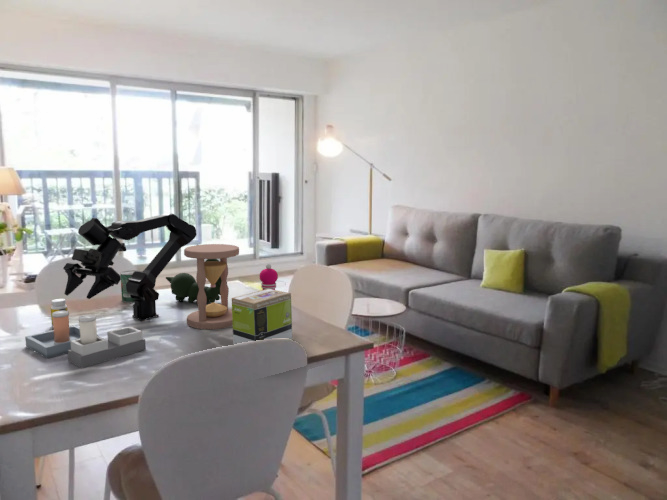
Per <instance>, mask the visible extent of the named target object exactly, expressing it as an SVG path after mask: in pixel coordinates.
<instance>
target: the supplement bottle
mask: <svg viewBox="0 0 667 500" xmlns="http://www.w3.org/2000/svg"><path fill="white" fill-rule="evenodd" d="M66 303H67V301H66V299H65V298H56V299H52V300H51V307H50V316H51V318H50V319H51V326H52V327H53V317H52V313H53V312H56V311H69V310H68V306H67V304H66Z"/></svg>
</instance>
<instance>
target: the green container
mask: <svg viewBox="0 0 667 500" xmlns="http://www.w3.org/2000/svg"><path fill="white" fill-rule="evenodd" d="M135 271H139V272H142V271H143V270H125V271H121V272H120V274H119V275H120V277H121V280H120V289H121V302H123V303H125V304H127V303H128V304H129V303H130V304H131V303H132V304H133V303H134V300H136V299H131V297H130V294H128V292H127V290H126V284H127V282H128V281H129V280H127V279H129V278H130V277H131V276H132V274H133V273H134V272H135Z"/></svg>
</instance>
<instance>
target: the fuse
mask: <svg viewBox="0 0 667 500" xmlns="http://www.w3.org/2000/svg"><path fill="white" fill-rule="evenodd" d="M77 319H78V327H79V328H80V342H81V344H83V345H86V344H90V343H94V342H97V335H98V334H97V333H98V331H97V315H96V314H83V315H80V316H78V318H77Z"/></svg>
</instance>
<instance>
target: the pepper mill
mask: <svg viewBox="0 0 667 500" xmlns="http://www.w3.org/2000/svg"><path fill="white" fill-rule="evenodd" d="M278 279H279V276H278V272H277V270H275V269H274V268H272V265H271V264H270V263H267V264H266V265H265V268H264V269H262V270H261V271H260V273H259V281H260V282H261V283H260V284H261V286H260V287H261V290H265V289H272V290H276V288H277V283H276V282H277V281H278Z"/></svg>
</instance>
